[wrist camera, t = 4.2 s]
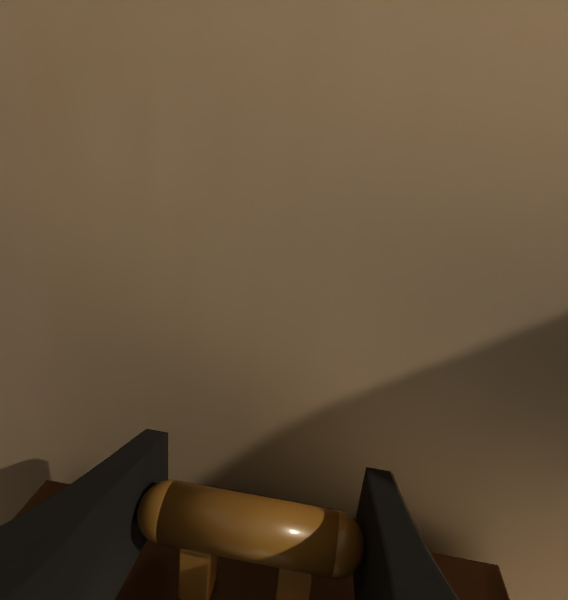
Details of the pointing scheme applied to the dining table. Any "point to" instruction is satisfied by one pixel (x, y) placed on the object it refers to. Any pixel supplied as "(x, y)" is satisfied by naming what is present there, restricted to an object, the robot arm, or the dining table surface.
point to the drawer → (256, 549)
